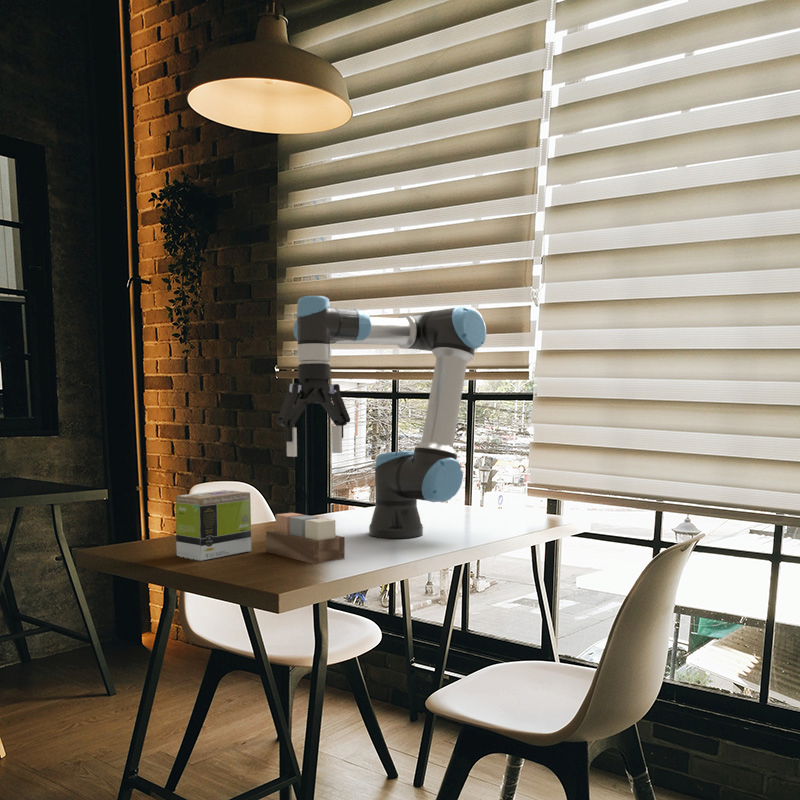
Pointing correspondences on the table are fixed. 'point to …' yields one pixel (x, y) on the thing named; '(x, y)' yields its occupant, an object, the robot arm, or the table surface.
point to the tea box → (213, 524)
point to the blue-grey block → (299, 525)
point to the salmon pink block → (284, 522)
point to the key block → (305, 547)
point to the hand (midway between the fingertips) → (315, 454)
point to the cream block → (320, 529)
